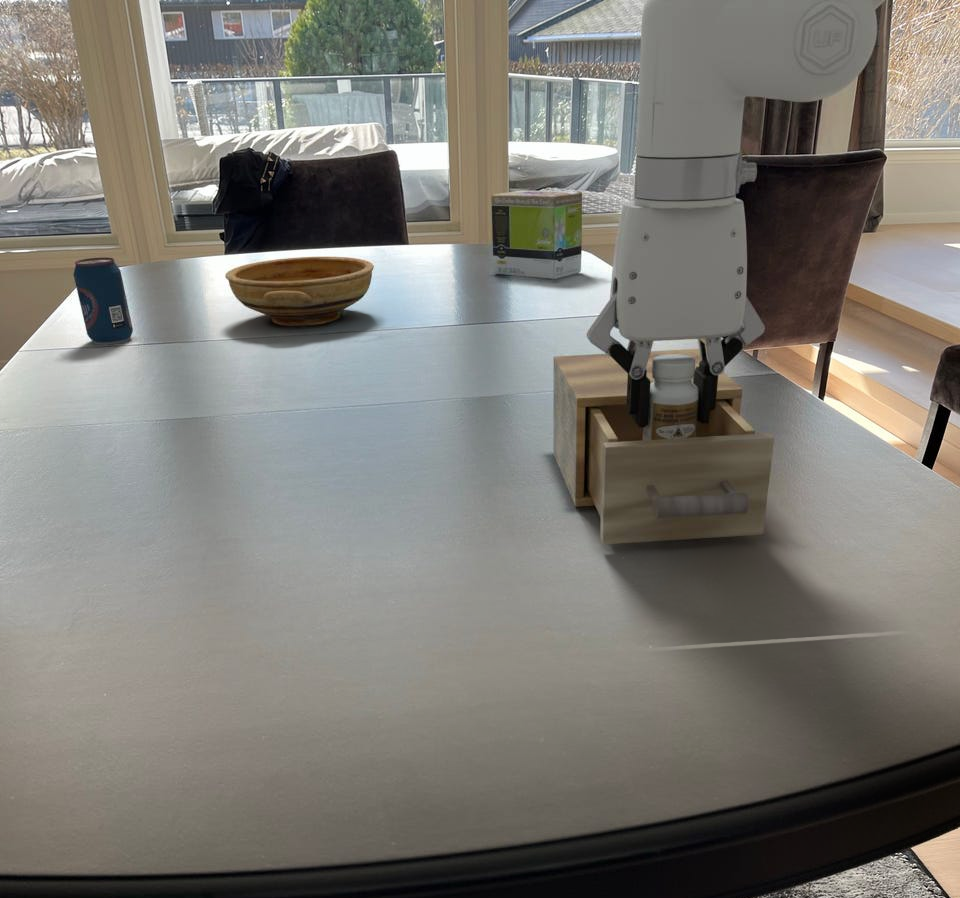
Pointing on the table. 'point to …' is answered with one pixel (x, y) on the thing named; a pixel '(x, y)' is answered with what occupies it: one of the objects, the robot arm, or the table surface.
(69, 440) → the table surface
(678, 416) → the pill bottle
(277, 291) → the ceramic bowl
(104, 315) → the soda can
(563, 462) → the cabinet
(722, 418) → the drawer
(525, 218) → the tea box
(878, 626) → the table surface
